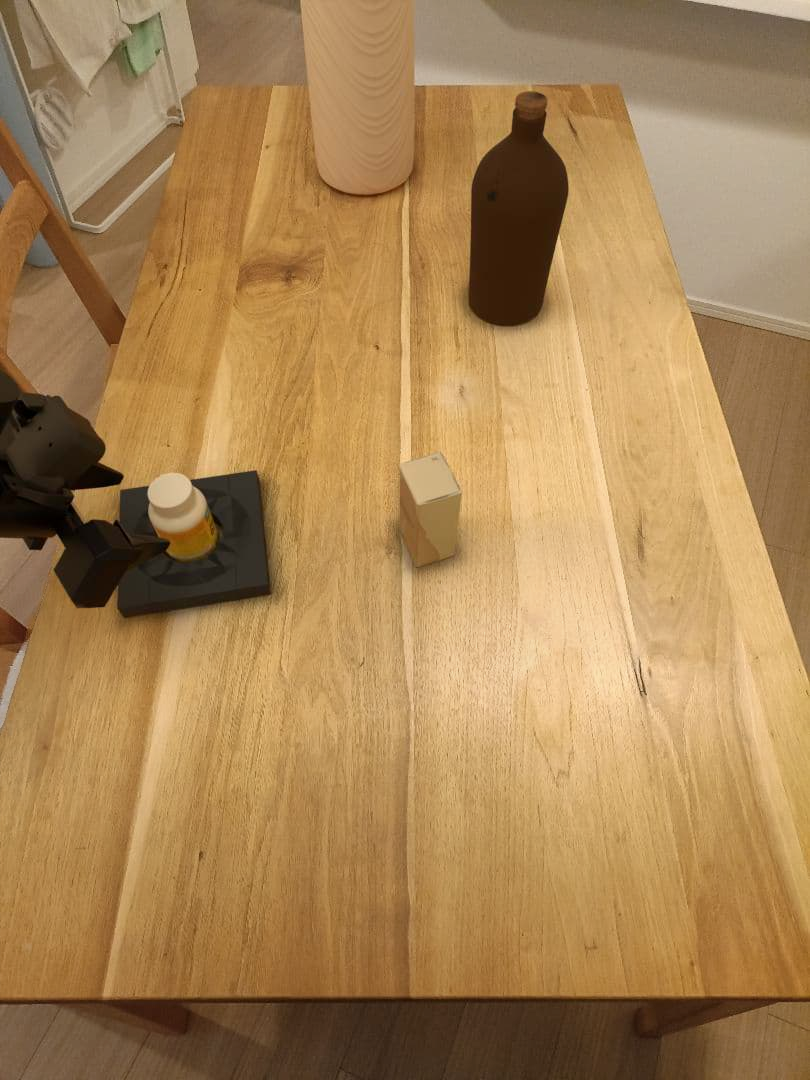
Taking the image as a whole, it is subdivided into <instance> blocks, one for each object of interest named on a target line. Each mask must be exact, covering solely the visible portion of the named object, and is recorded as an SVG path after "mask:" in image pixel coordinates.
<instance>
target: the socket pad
mask: <svg viewBox="0 0 810 1080" xmlns="http://www.w3.org/2000/svg"><path fill="white" fill-rule="evenodd" d="M189 480H190V481H191V483H192V486H194V487H195V488H197V489H198V490H199V491H201V493H202V494H203V495H204V497H205V499H206V502H207V505H208V507H209V510H210V513H211V515H212V518H213V521H214V523H215V526H218V527H220V529H221V530H222V536H221V538H220V544H219V546H218V547H217V548H216V549H215V550H214V551H213V552H212V553H211V554H210V555H209V556H207V557H205V558H203V559H201V560H199V561H193V562H187V563H184V562H179V561H173V560H172V559H170V558H169V556H168V555H167V554H165V552H163V553H161V554H159V555H157V556H155V557H154V558H152V559H150V560H148V561H146V562H144V563H142V564H140V565H138V566H136V567H135V568H133V569H131V570H129V571H127V572H126V573H125V574H124V575H123V577H122V579H121V580H120V582H119V584H118V585H117V605H116V606H117V607H116V608H117V610H118V611H119V613H120V615H121V616H122V618H124V619H126V618H133V617H139V616H146V615H151V614H158V613H164V612H165V613H166V612H172V611H177V610H182V609H183V610H184V609H190V608H195V607H202V606H207V605H214V604H218V603H221V604H222V603H225V602H233V601H238V600H239V601H240V600H244V599H250V598H255V597H262V596H268V595H271V594H272V590H271V581H270V570H269V560H268V552H267V551H268V550H267V540H266V531H265V520H264V512H263V500H262V492H261V482H260V478H259V474H258V471H257V470H255V469H254V470H248V471H242V472H234V473H228V474H221V475H215V476H214V475H213V476H207V477H200V478H191V479H189ZM149 486H150V485H144V486H139V487H131V488H123V489H120V490H119V519H118V521H119V523H120V524H121V526H122V527H123V528H124V530H125V531H126V533H130V534H138V535H146V536H155V537H159V536H158V534H157V532H156V530H155V528H154V526H153V524H152V522H151V520H150V518H149V514H148V508H149V504H150V501H149V499H148V488H149Z"/></svg>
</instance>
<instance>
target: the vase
mask: <svg viewBox="0 0 810 1080" xmlns="http://www.w3.org/2000/svg"><path fill="white" fill-rule="evenodd" d="M300 12H301V13H300V14H301V23H302V25H301V26H302V35H303V45H304V55H305V66H306V77H307V87H308V96H309V107H310V119H311V129H312V138H313V147H314V154H315V161H316V167H317V171H318V174H319V176H320V178H321V179H322V180H323V181H324V182H325V183H326V184H327V185H329V186H330V187H331V188H333V189H334V190H335V189H336V190H337V191H340V192H343V193H348V194H351V195H358V196H360V195H361V196H367V195H368V196H369V195H377V194H383V193H385V192H389V191H391V190H394V189H396V188H397V187H399V186H400V185H402V184H403V183H405V182H406V180H407V179H408V178H409V177H410V176H411V174H412V172H413V169H414V167H413V166H414V159H415V0H300Z"/></svg>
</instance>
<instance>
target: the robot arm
mask: <svg viewBox="0 0 810 1080" xmlns="http://www.w3.org/2000/svg"><path fill="white" fill-rule="evenodd" d="M106 448H107V447H106V443H105V441H104V440H103V439H102V437H100V436H99V434H98V433H97V432H96V430H95V429H94V427H93V426H92V425H91V421H90V420H89V419H87V418H86V417H85V416H83V415H81V414H79V412H77V411H75V410H73V409H71V408H70V407H69V406H68V405H67V404H66V402H65V401H64V400H63V398H62V397H61V396H60V395H53V396H51V395H49V394H46V395H45V394H42V393H35V392H34V393H33V392H23V391H21V389H20V387H19V385H18V383H17V382H16V381H15V380H14V379H13V378H12V377H11V376H10V375H9V374H8V373H6V372H5V371H3V370H2V369H1V368H0V539H20V540H21V539H22V540H23V542H24V543H25V545H26V547H27V548H28V550H29V551H42V550H43V549H44V546H45V544H46V543H47V541H48V539H52V538H54V537H56V536H57V537H58V538H59V541H60V542H61V543H62V545H63V547H64V550H63V551H62V553H61V555H60V557H59V559H58V561H57V563H56V564H55V566H54V568H53V573H54V574H55V575H56V577H57V579H58V581H59V582H60V584H61V586H62V588H63V589H64V591H65V593H66V594H67V596H68V597H69V599H70V601H71V602H72V604H73V605H74V606H75V607H76V609H96V608H97V609H98V608H105V607H106V605H107V604H108V602H109V601H110V599H111V597H112V595H113V594H114V592H115V590H116V589H117V588H118V584H119V582H120V580H121V579H122V577H123V575H124V574H125V573H126V572H127V571H129V570H131V569H133V568H135V567H136V566H138V565H140V564H142V563H144V562H146V561H148V560H150V559H152V558H154V557H155V556H157V555H159V554H161V553H163V552H164V553H165V552H166V550H167V549H168V547H169V545H170V541H169V540H168V539H164V538H160V537H155V536H146V535H138V534H130V533H126V531H125V530H124V528H123V527H122V526H121V524H120V523H119V519H115V520H114V522H113V523H111V522H109V521H107V520H106V519H95V518H94V519H90V520H89V521H86V520H85V518H84V516H83V515H82V513H81V512H80V510H79V509H78V507H77V506H76V504H75V503H74V499H75V495H74V493H73V492H72V491H77V490H78V491H80V490H81V491H82V490H92V489H102V488H103V489H104V488H108V487H114V486H119V485H120V484H121V483H122V481H123V480H124V478H125V476H124V474H123V473H122V472H121V471H119V470H116V469H115V468H112V467H111V466H107V465H106V464H103V463H101V462H100V461H101V460H102V459H103V457H104V456H105V453H106V450H107V449H106Z"/></svg>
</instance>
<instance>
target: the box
mask: <svg viewBox="0 0 810 1080" xmlns="http://www.w3.org/2000/svg"><path fill="white" fill-rule="evenodd" d="M398 473H399V474H398V478H399V479H398V480H399V481H398V482H399V485H398V489H399V490H398V493H399V494H398V509H399V510H398V513H399V514H398V530H399V533H400V535H401V538H402V540H403V542H404V544H405V547H406V550H407V551H408V554H409V556H410V558H411V560H412V562H413V565H414V566H415V567H416V568H419V567H424V566H426V565H429V564H432V563H436V562H439V561H442V560H445V559H448V558H451V557H453V556H455V551H456V543H457V535H458V529H459V528H458V527H459V519H460V511H461V503H462V494H463V490H462V488H461V486H460V484H459V481H458V480H457V478H456V476H455V474H454V472H453V470H452V469H451V467H450V464H449V462H448V461H447V459H446V458H445V455H444V453H443V452H442V451H437V452H433V453H429V454H426V455H422V456H419V457H417V458H413V459H411V460H408V461H405V462H401V463H399V465H398Z"/></svg>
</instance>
